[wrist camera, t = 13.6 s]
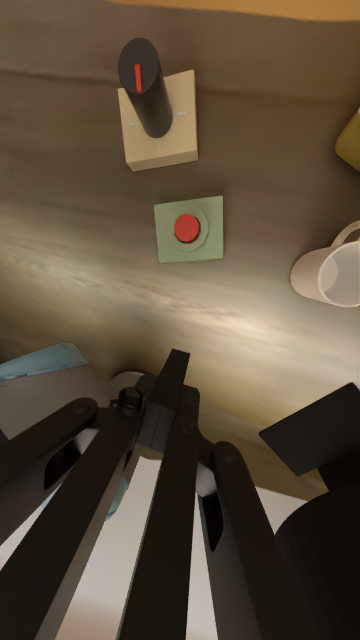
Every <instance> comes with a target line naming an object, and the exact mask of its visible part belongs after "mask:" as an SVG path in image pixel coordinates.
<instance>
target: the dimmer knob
mask: <svg viewBox="0 0 360 640" xmlns="http://www.w3.org/2000/svg"><path fill="white" fill-rule="evenodd" d="M118 73H119V78H120V81H121V83H122V85H123V87H124V89H125V91H126V94H127V96H128V98H129V100H130V102H131V104H132V106H133V108H134V110H135V112H136V114H137V116H138V118H139V120H140V122H141V124H142V126H143V129H144V130H145V132H146V133H147V135H149V136H150V137H152V138H160V137H163V136H164V135H165V134H166V133H167V132H168V131H169V129H170V127H171V125H172V121H173V113H172V109H171V105H170V101H169V97H168V93H167V89H166V85H165V81H164V78H163V74H162V70H161V66H160V62H159V58H158V54H157V51H156V49H155V47H154V46H153V45H152V43H151V42H149V41H148V40H146V39H144V38H136V39H133V40H131V41H130V42H129V43H128V44H127V45H126V46H125V47H124V49H123V50H122V52H121V55H120V58H119V63H118Z"/></svg>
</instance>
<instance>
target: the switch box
mask: <svg viewBox="0 0 360 640" xmlns="http://www.w3.org/2000/svg"><path fill="white" fill-rule="evenodd" d="M154 214H155V225H156V237H157V248H158V259H159V263H160V264H165V263H178V262H190V261H203V260H216V259H223V195H222V196H214V197H207V198H200V199H193V200H185V201H178V202H171V203H164V204H156V205H154ZM183 214H190V215H193V216H194V217H195V218H196V219H197V221H198V224H199V234H198V236H197V237H196V238H195V239H194V240H193V241H191V242H183V241H181V240H180V239H179V238H178V237H177V236H176V234H175V231H174V225H175V222H176V220H177V219H178V217H180V216H181V215H183Z"/></svg>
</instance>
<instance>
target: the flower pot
mask: <svg viewBox="0 0 360 640" xmlns="http://www.w3.org/2000/svg"><path fill="white" fill-rule="evenodd" d="M335 150H336V153H337V155H338V156H340V157H341V158H342V159H344V160H345V161H346V162H347V163H349V164H350V165H351V166H352V167H354V168H355V169H356V170H357V171H359V172H360V107H359V109H358V110H357V111H356V113H355V114H354V115H353V117H352V118H351V120H350V121H349V122H348V124H347V125H346V126H345V128H344V129H343V131H342V132H341V133H340V135H339V137H338V139H337V141H336V145H335Z"/></svg>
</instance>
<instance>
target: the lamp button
mask: <svg viewBox="0 0 360 640" xmlns="http://www.w3.org/2000/svg"><path fill="white" fill-rule="evenodd" d="M174 231H175V234H176V236H177V237H178V238H179V239H180V240H181V241H183V242H191V241H193V240H194V239H195V238H196V237H197V236H198V234H199V224H198V221H197V219H196V218H195V217H194V216H193V215H190V214H183V215H181V216H180V217H178V219H177V220H176V222H175V225H174Z"/></svg>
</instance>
